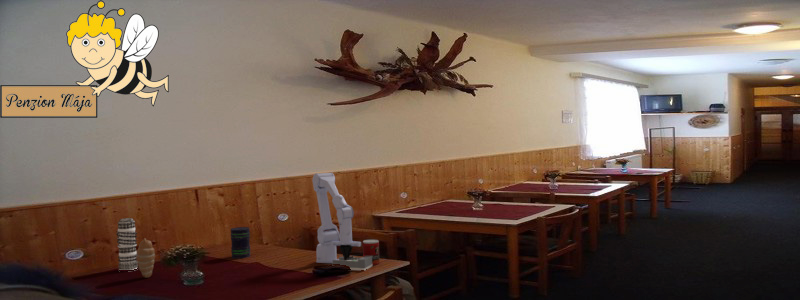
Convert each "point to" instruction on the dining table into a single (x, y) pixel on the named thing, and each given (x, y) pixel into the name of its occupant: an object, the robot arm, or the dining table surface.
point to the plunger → (352, 258)
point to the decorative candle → (127, 244)
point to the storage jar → (240, 242)
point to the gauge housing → (356, 262)
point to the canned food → (371, 250)
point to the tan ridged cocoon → (146, 257)
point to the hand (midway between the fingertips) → (346, 261)
